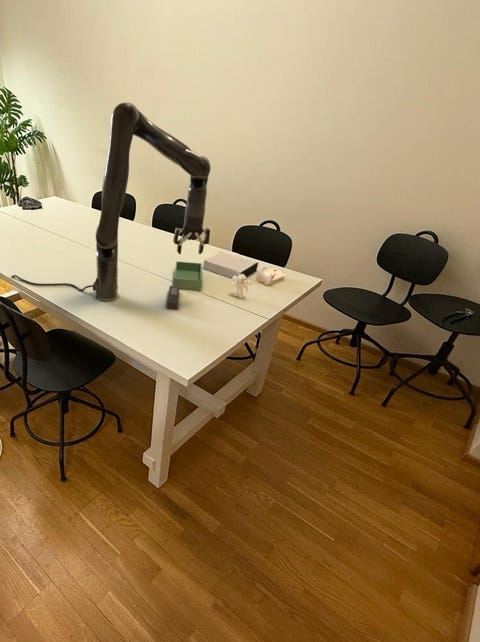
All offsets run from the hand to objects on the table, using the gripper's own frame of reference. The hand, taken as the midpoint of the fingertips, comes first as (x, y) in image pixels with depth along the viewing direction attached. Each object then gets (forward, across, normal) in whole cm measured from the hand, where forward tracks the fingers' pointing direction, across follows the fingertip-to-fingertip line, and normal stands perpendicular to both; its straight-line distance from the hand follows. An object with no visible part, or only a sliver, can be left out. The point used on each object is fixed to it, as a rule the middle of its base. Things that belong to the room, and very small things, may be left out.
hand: (189, 253), depth 153 cm
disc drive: (+23, -32, -34) cm, 52 cm away
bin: (+23, -7, -23) cm, 33 cm away
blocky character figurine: (+23, -27, -5) cm, 36 cm away
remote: (+23, +4, -2) cm, 23 cm away
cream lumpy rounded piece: (+23, -49, -21) cm, 58 cm away
